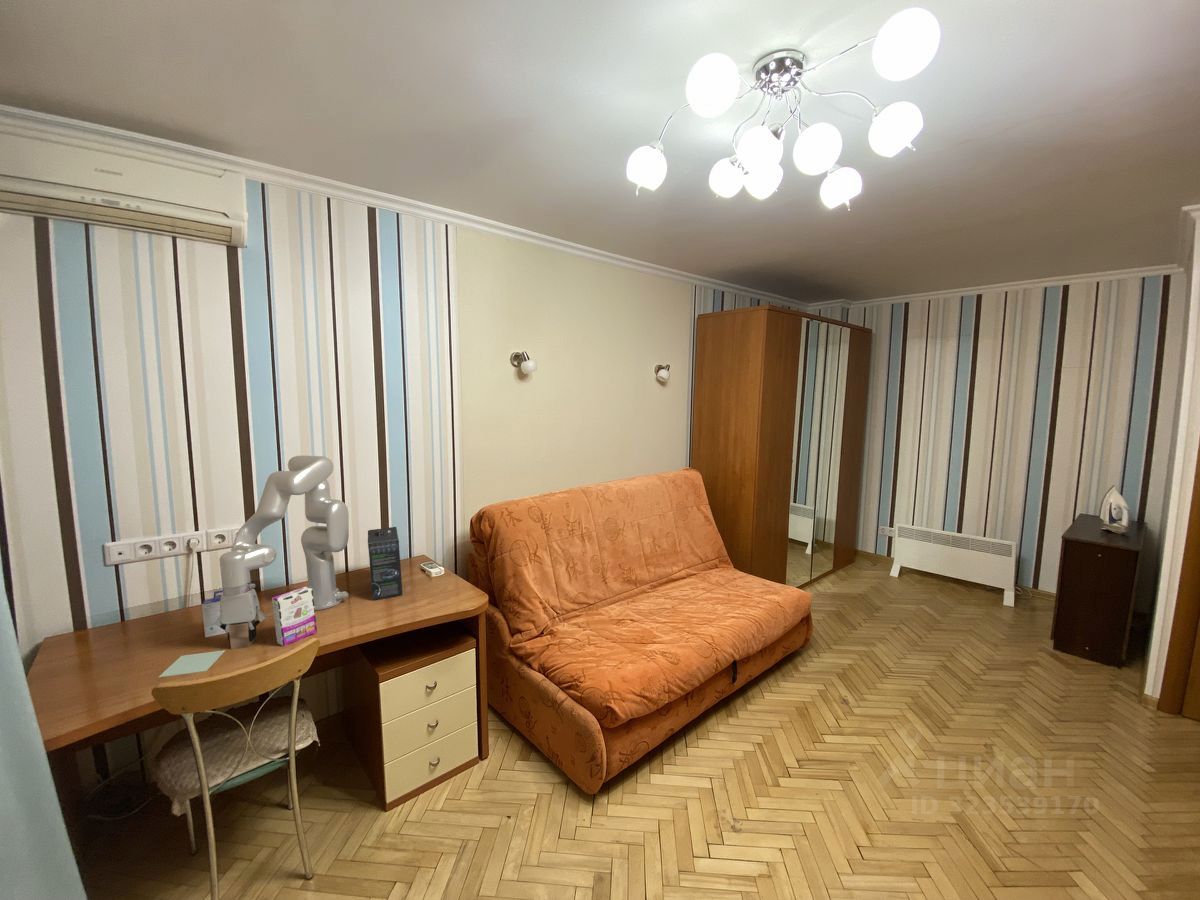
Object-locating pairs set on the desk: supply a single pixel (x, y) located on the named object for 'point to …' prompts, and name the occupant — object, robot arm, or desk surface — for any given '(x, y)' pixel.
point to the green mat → (192, 663)
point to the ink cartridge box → (212, 615)
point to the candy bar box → (294, 615)
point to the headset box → (384, 563)
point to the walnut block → (239, 635)
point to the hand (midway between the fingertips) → (242, 640)
